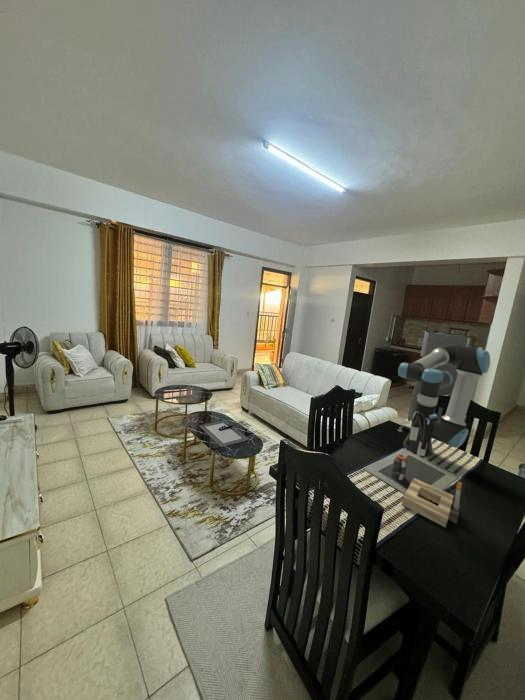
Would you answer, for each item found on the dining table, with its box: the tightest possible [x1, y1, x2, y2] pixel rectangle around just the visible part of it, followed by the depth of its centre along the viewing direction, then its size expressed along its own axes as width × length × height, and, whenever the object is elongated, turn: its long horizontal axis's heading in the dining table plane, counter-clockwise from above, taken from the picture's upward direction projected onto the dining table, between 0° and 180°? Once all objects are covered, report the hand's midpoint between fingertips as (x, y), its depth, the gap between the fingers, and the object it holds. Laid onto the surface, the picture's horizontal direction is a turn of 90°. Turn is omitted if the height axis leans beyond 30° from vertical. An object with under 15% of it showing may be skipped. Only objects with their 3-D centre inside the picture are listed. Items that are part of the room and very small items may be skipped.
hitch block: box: [401, 477, 461, 528], centre depth 119 cm, size 18×19×4 cm
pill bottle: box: [390, 453, 408, 481], centre depth 137 cm, size 6×6×11 cm
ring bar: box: [453, 480, 463, 513], centre depth 113 cm, size 4×1×14 cm, turn 140°
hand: (416, 447), depth 127 cm, fingers open, 13 cm apart
